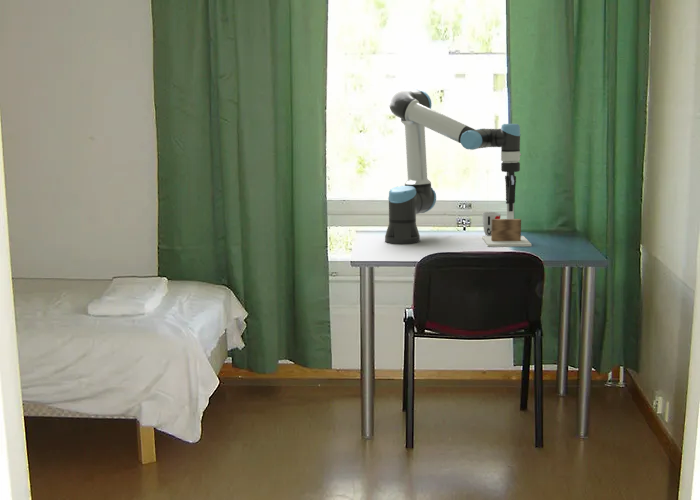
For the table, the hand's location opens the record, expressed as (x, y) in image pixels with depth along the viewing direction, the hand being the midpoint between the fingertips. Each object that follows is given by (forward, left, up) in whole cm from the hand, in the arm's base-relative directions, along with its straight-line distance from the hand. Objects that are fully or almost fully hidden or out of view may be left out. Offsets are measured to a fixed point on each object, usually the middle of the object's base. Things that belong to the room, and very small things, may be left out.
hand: (510, 218), depth 355 cm
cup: (-4, +26, -12) cm, 29 cm away
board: (-1, +7, -10) cm, 13 cm away
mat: (0, +8, -11) cm, 14 cm away
